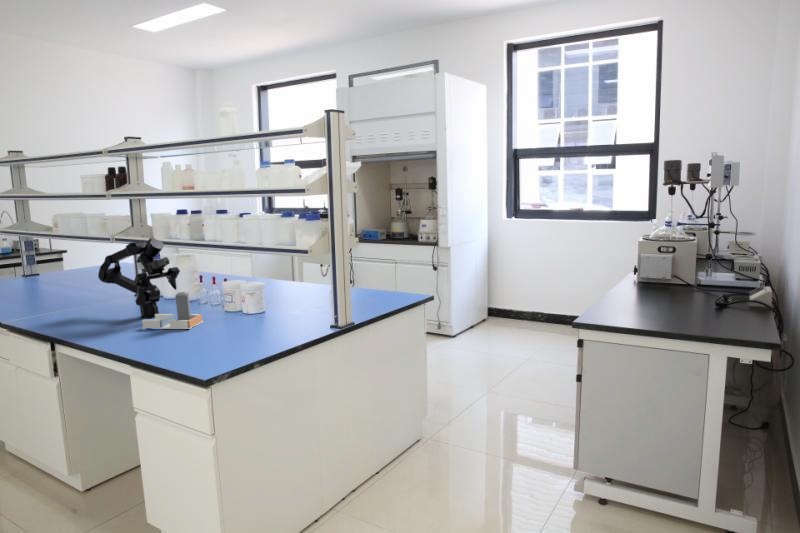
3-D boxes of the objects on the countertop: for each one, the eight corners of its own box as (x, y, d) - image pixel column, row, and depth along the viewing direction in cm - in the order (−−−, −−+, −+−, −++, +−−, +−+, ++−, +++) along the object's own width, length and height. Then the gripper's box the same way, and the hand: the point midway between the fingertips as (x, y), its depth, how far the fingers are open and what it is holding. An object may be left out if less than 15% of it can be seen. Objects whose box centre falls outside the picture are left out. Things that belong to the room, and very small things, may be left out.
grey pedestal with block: (178, 326, 221) (175, 293, 218) (180, 323, 225) (176, 290, 223) (190, 325, 222) (186, 292, 219) (191, 322, 226) (188, 289, 224)
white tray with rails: (141, 329, 221) (139, 320, 221) (157, 321, 232) (156, 313, 231) (189, 330, 218) (188, 321, 217) (203, 322, 228) (202, 314, 227)
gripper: (133, 255, 223) (150, 283, 218) (175, 249, 237) (191, 275, 232) (126, 272, 229) (142, 300, 224) (167, 264, 243) (183, 291, 239)
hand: (165, 291), depth 230 cm, fingers open, 9 cm apart
